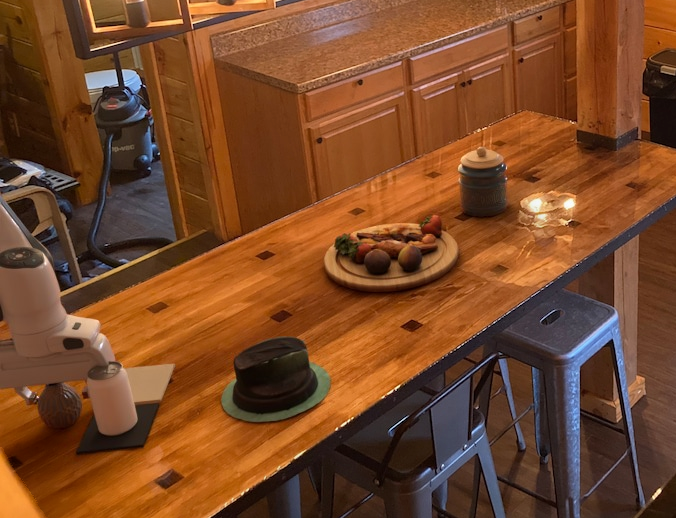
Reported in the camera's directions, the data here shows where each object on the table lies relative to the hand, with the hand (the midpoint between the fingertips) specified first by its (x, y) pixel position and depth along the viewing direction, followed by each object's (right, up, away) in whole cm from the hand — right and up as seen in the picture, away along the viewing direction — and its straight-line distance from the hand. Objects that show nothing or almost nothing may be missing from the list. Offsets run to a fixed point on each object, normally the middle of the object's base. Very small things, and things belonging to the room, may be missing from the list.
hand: (61, 400), depth 172 cm
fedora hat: (+35, -1, +11) cm, 37 cm away
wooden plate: (+47, +20, +58) cm, 78 cm away
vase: (0, -5, +2) cm, 5 cm away
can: (+10, -5, 0) cm, 11 cm away
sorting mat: (+9, -3, +6) cm, 11 cm away
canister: (+66, +32, +86) cm, 113 cm away
